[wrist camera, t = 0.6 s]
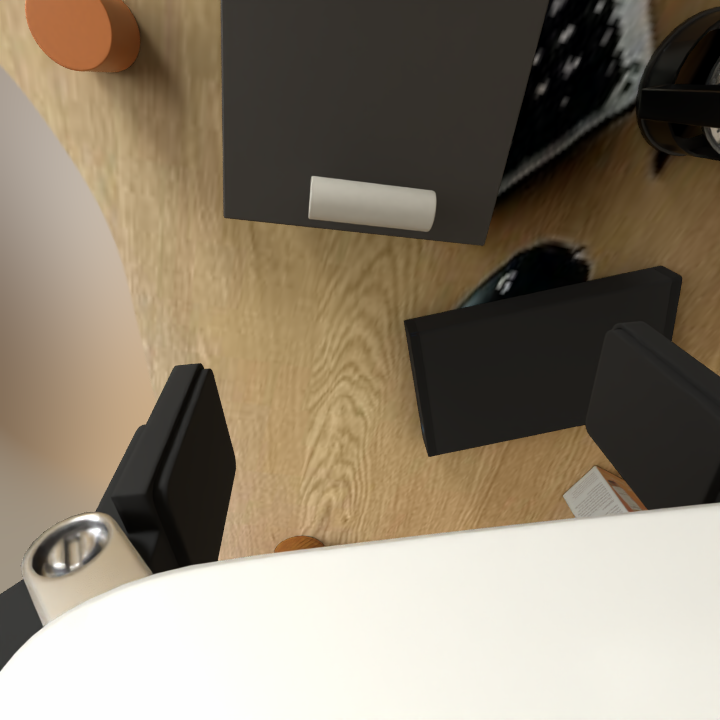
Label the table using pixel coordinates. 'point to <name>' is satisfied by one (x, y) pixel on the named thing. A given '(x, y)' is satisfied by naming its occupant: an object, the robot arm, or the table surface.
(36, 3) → the orange cylinder
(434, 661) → the robot arm
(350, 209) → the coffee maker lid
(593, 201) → the table surface
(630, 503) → the small box
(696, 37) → the french press
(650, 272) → the external hard drive
